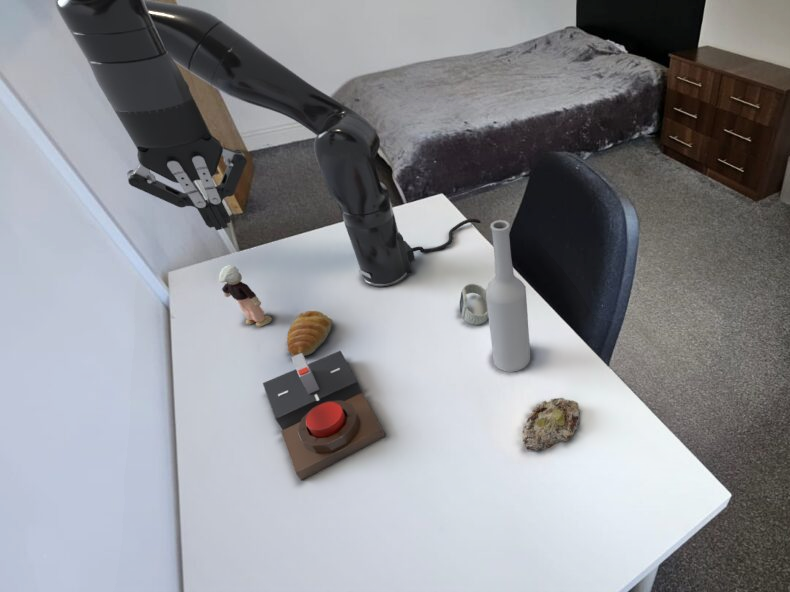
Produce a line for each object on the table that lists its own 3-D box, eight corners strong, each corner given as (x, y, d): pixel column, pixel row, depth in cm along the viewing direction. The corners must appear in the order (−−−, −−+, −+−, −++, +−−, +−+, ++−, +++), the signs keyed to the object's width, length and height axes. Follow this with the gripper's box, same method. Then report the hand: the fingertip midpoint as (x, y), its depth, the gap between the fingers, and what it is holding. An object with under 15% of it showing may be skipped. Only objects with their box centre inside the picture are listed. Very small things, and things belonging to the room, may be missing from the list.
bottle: (518, 339, 88) (509, 208, 70) (537, 361, 84) (531, 228, 66) (487, 354, 85) (468, 220, 67) (504, 377, 81) (489, 242, 63)
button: (340, 404, 72) (336, 396, 70) (350, 426, 69) (346, 418, 68) (306, 420, 69) (301, 412, 68) (315, 443, 66) (311, 435, 65)
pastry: (321, 358, 83) (314, 343, 81) (280, 361, 82) (272, 346, 80) (335, 322, 90) (329, 307, 88) (298, 324, 89) (290, 309, 87)
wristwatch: (458, 298, 97) (455, 279, 93) (489, 294, 98) (487, 275, 95) (462, 328, 90) (459, 309, 87) (495, 323, 92) (493, 304, 88)
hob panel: (345, 360, 83) (339, 348, 81) (362, 394, 78) (357, 382, 75) (269, 393, 77) (261, 380, 75) (283, 432, 72) (275, 419, 70)
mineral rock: (552, 382, 78) (587, 401, 73) (558, 401, 80) (592, 420, 75) (503, 424, 72) (538, 447, 67) (511, 443, 74) (545, 467, 69)
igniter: (365, 399, 77) (359, 384, 74) (385, 436, 72) (378, 420, 69) (285, 438, 71) (275, 423, 68) (300, 480, 66) (290, 465, 63)
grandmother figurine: (281, 315, 91) (254, 262, 83) (269, 329, 88) (240, 275, 80) (243, 311, 91) (212, 258, 83) (230, 325, 88) (196, 271, 80)
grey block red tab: (300, 374, 76) (290, 355, 73) (311, 370, 77) (301, 351, 74) (308, 394, 73) (298, 376, 71) (319, 389, 74) (310, 371, 71)
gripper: (75, 118, 49) (166, 255, 60) (223, 97, 55) (280, 224, 66) (76, 98, 53) (160, 229, 64) (213, 80, 59) (268, 202, 71)
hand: (221, 226), depth 65 cm, fingers closed
